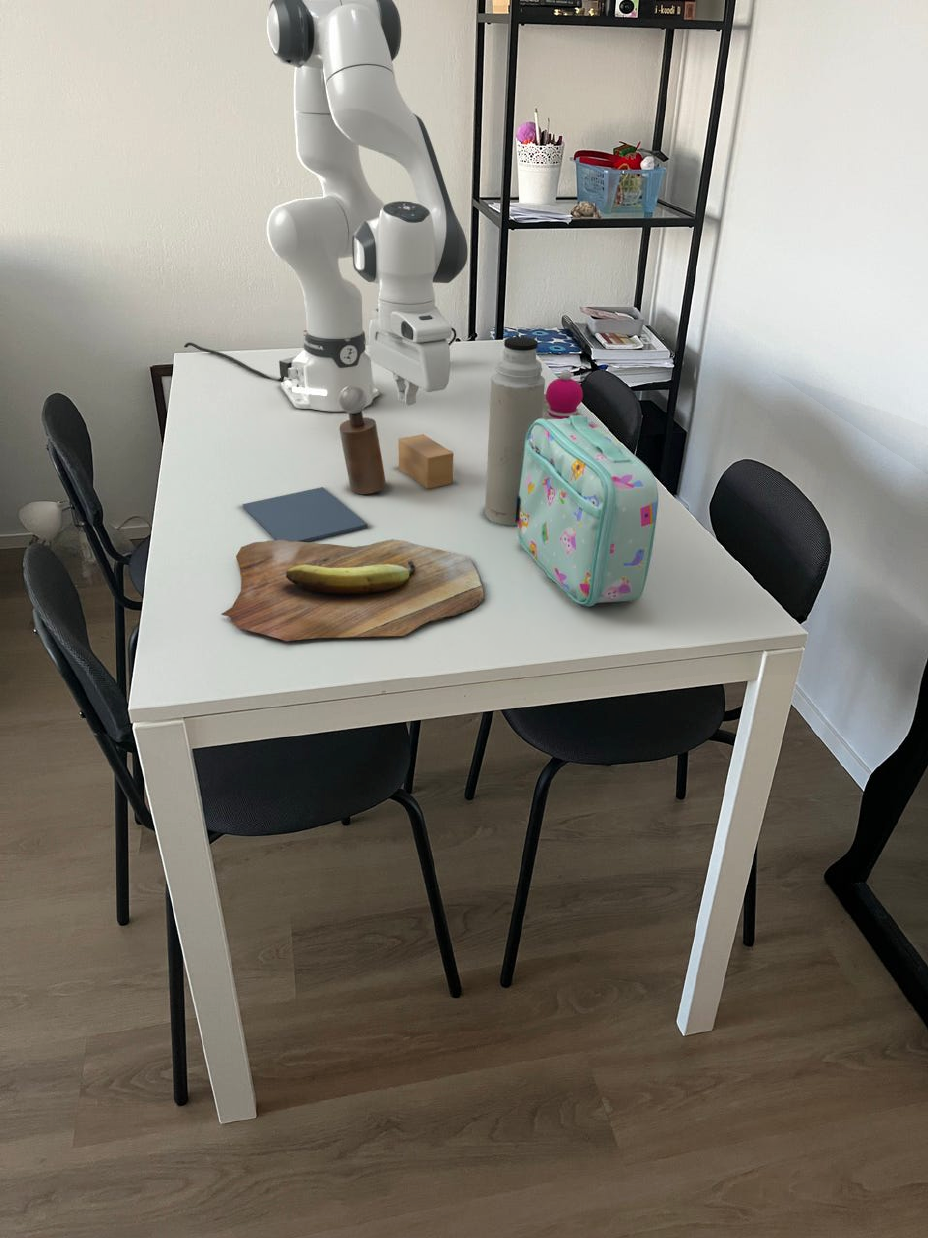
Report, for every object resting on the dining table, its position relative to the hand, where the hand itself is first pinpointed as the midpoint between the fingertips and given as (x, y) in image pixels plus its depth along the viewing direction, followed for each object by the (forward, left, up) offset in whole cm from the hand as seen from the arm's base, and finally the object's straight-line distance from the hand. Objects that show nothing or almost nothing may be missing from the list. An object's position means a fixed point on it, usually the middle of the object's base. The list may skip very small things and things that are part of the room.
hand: (406, 402), depth 155 cm
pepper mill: (+14, +22, -14) cm, 29 cm away
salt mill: (0, -2, -10) cm, 11 cm away
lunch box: (+40, +5, -14) cm, 43 cm away
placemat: (+5, -21, -14) cm, 26 cm away
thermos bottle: (+20, +8, -14) cm, 26 cm away
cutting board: (+29, -25, -14) cm, 40 cm away
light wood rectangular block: (0, +4, -14) cm, 14 cm away
